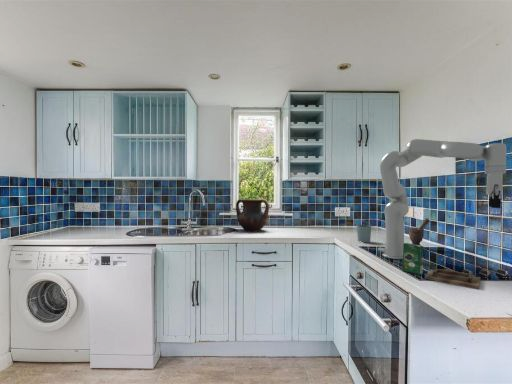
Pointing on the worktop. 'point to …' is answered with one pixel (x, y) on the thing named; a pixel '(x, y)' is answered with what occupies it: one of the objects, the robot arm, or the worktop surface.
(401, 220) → the robot arm
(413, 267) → the coffee box
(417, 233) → the mortar and pestle
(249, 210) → the dark brown round pot
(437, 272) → the holder
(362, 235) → the grey-green pot
